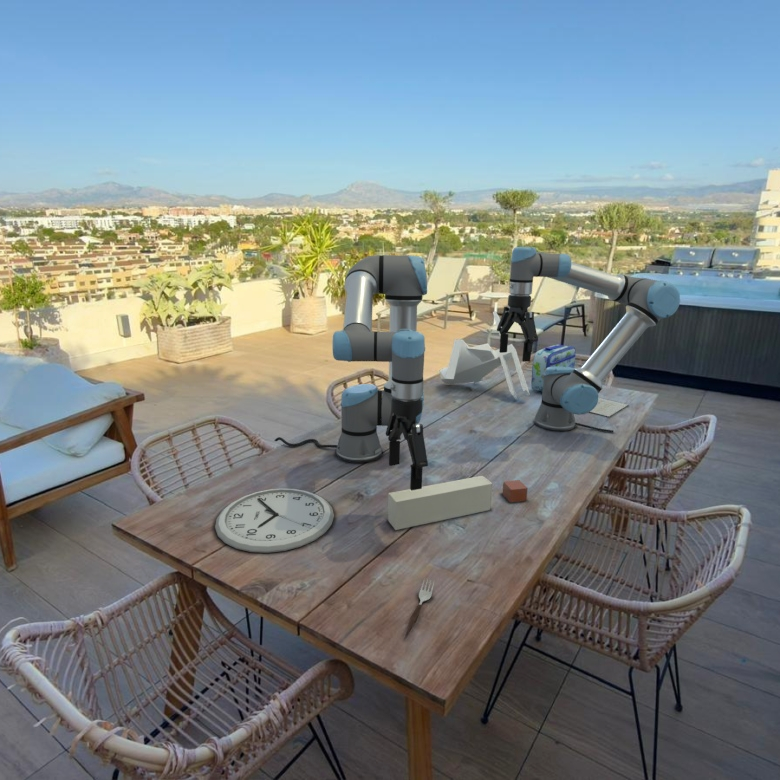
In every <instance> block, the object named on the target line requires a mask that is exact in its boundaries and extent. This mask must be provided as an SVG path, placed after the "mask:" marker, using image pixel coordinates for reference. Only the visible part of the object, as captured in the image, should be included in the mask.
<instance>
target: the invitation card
mask: <svg viewBox="0 0 780 780" xmlns="http://www.w3.org/2000/svg"><path fill="white" fill-rule="evenodd" d="M628 406H629V404H627V403H623V402H618V401H614V400H609V399H605V398H601V397H598V403H597V405H596V406H595V408H594V409H593V410H591V411H590V412H589V413H593V414H596V415H600V416H604V417H608V418H609V417H611V416H613V415H614V414H616V413H617V412H619V411H621V410H623V409H624V408H626V407H628Z"/></svg>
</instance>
